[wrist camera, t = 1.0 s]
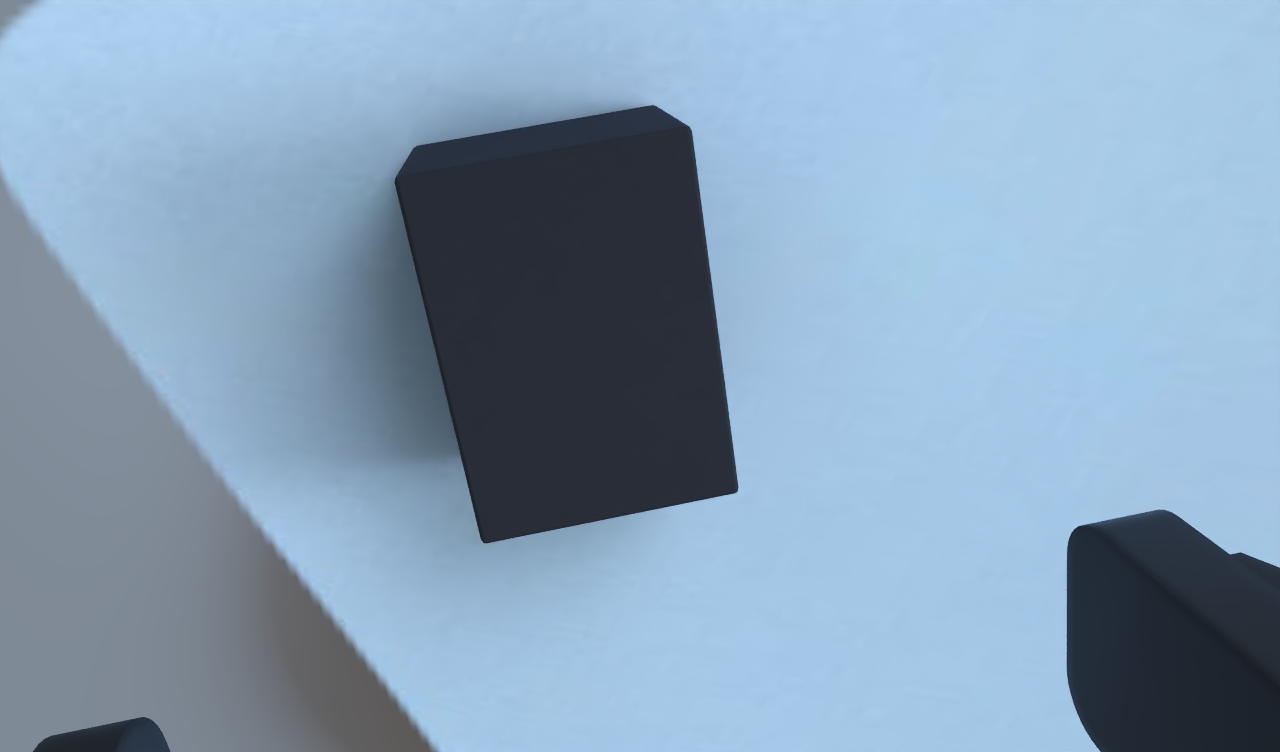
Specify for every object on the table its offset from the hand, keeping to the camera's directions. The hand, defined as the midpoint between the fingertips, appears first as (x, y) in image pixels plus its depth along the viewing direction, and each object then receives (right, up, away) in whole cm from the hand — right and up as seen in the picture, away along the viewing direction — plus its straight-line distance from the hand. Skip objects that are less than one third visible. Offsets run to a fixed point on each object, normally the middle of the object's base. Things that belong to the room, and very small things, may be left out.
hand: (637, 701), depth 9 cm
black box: (-2, +5, +13) cm, 14 cm away
